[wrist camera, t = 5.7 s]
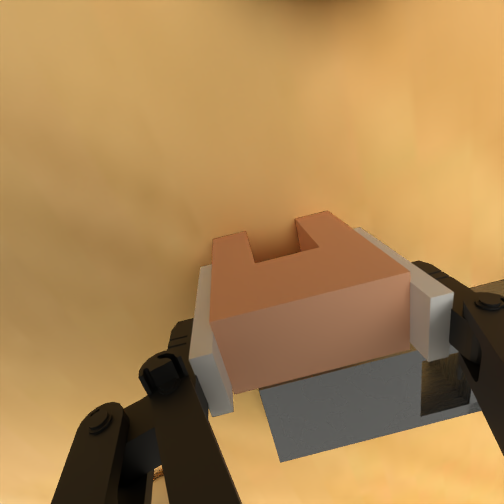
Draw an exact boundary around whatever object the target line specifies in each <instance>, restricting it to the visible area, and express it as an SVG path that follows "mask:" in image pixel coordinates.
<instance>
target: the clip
mask: <svg viewBox="0 0 504 504" xmlns="http://www.w3.org/2000/svg"><path fill="white" fill-rule="evenodd" d="M295 221H296V227H297V233H298V239H299V245H300V251H301V252H299V253H295V254H291V255H287V256H283V257H279V258H275V259H271V260H267V261H263V262H259V263H255V262H254V259H253V255H252V251H251V248H250V244H249V240H248V237H247V233H246V231H244V232H240V233H236V234H232V235H228V236H224V237H220V238H216V239H213V249H212V271H211V293H210V315H209V323H210V326H211V329H212V332H213V334H214V336H215V339H216V342H217V345H218V348H219V351H220V354H221V357H222V359H223V362H224V365H225V368H226V371H227V374H228V377H229V379H230V382H231V385H232V389H233V392H234V394H238V393H242V392H246V391H250V390H253V389H257V388H261V387H265V386H269V385H273V384H277V383H281V382H285V381H289V380H293V379H297V378H300V377H304V376H308V375H312V374H316V373H320V372H324V371H328V370H332V369H336V368H340V367H344V366H347V365H351V364H355V363H359V362H363V361H367V360H371V359H375V358H379V357H383V356H387V355H391V354H395V353H398V352H402V351H406V350H410V281H411V272H410V271H409V270H408V269H406V268H405V267H404V266H402V265H401V264H400V263H398V262H397V261H395V260H394V259H393V258H391V257H390V256H389V255H387V254H386V253H385V252H383V251H382V250H381V249H379V248H378V247H376V246H375V245H374V244H372V243H371V242H370V241H368V240H367V239H366V238H364V237H363V236H362V235H360V234H359V233H358V232H356V231H355V230H353V229H352V228H351V227H349V226H348V225H347V224H345V223H344V222H343V221H341V220H340V219H339V218H337V217H336V216H334V215H333V214H332V213H330V212H329V211H324V212H320V213H316V214H312V215H308V216H304V217H300V218H296V219H295Z"/></svg>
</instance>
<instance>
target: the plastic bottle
mask: <svg viewBox="0 0 504 504" xmlns="http://www.w3.org/2000/svg"><path fill="white" fill-rule="evenodd" d="M151 504H169V500H168V494H167V489H166V484H165V479H164V475H163V476H161V477H159V478H157V479H155V480H154V481H153V489H152V501H151Z"/></svg>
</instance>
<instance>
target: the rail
mask: <svg viewBox="0 0 504 504" xmlns="http://www.w3.org/2000/svg"><path fill="white" fill-rule="evenodd" d="M470 289H471V290H473V291H474V292H490V293H494V294H499V295H502V296H504V280H501V281H497V282H493V283H489V284H485V285H481V286H477V287H473V288H470ZM458 352H459V351H458V350H456V349H455V348H454V347H453V346H452V345H451V344H450V347H449V357H446V358H442V359H438V360H434V361H430V362H428V361H426V359H425V358H424V357H423V356H422V355H421V354H420V353H419V351H418V350H417V349H416V348H415V347H414V346H413V345H412V344H411V343H410V350H406V351H402V352H398V353H395V354H391V355H387V356H383V357H379V358H375V359H371V360H367V361H363V362H359V363H355V364H351V365H347V366H344V367H340V368H336V369H332V370H328V371H324V372H320V373H316V374H312V375H308V376H304V377H300V378H297V379H293V380H289V381H285V382H281V383H277V384H273V385H269V386H265V387H261V388H259V392H260V396H261V399H262V402H263V406H264V409H265V412H266V416H267V419H268V422H269V426H270V429H271V433H272V436H273V439H274V443H275V446H276V449H277V453H278V456H279V459H280V463H281V462H285V461H288V460H292V459H296V458H300V457H304V456H308V455H312V454H315V453H319V452H323V451H327V450H331V449H335V448H339V447H343V446H346V445H350V444H354V443H358V442H362V441H366V440H370V439H373V438H377V437H381V436H385V435H389V434H393V433H397V432H401V431H404V430H408V429H412V428H416V427H420V426H424V425H428V424H431V423H435V422H439V421H443V420H447V419H451V418H455V417H459V416H462V415H466V414H470V413H474V412H478V411H482V410H481V408H480V406H479V404H478V402H477V400H476V398H475V396H474V393H473V391H472V389H471V387H470V385H469V383H468V381H467V380H466V377H465V375H464V373H463V372H462V376H461V380H459V379H457V375H456V373H457V363H458ZM422 361H424V362H422Z"/></svg>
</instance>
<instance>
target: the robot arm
mask: <svg viewBox="0 0 504 504" xmlns="http://www.w3.org/2000/svg"><path fill="white" fill-rule="evenodd" d="M353 230H355V231H356V232H358V233H359V234H360V235H362V236H363V237H364V238H366V239H367V240H368V241H370V242H371V243H372V244H374V245H375V246H376V247H378V248H379V249H381V250H382V251H383V252H385V253H386V254H387V255H389V256H390V257H391V258H393V259H394V260H395V261H397V262H398V263H400V264H401V265H402V266H404V267H405V268H406V269H408V270H409V271H410V272H411V281H410V343H411V344H412V345H413V346H414V347H415V348H416V349H417V350H418V351H419V353H420V354H421V355H422V356H423V357H424V358H425V359H426V360H427V361H428V362H430V361H434V360H438V359H442V358H446V357H449V347H450V344H451V345H452V346H453V347H454V348H455V349H456V350H458V351H459V352H458V363H457V373H456V375H457V379H459V380H461V376H462V372H463V373H464V375H465V377H466V380H467V381H468V383H469V385H470V387H471V389H472V391H473V393H474V396H475V398H476V400H477V402H478V404H479V406H480V408H481V410H482V412H483V414H484V416H485V418H486V420H487V422H488V424H489V427H490V429H491V431H492V433H493V435H494V437H495V439H496V441H497V443H498V445H499V447H500V449H501V451H502V453H503V456H504V296H502V295H499V294H494V293H490V292H474V291H473V290H471V289H470V288H468V287H466V286H465V285H463V284H462V283H460V282H458V281H457V280H455V279H454V278H452V277H449V275H447V274H446V273H444V272H441V270H440V269H438V268H436V267H435V266H433V265H432V264H428V263H425V262H422V261H415V262H409V261H408V260H407V259H405V258H404V257H402V256H401V255H399V254H398V253H396V252H395V251H394V250H392V249H391V248H389V247H388V246H386V245H385V244H383V243H382V242H380V241H379V240H378V239H376V238H375V237H373V236H372V235H370V234H369V233H367V232H366V231H365V230H363V229H362V228H360V227H359V228H355V229H353ZM211 271H212V264H210V265H206V266H202V267H200V273H199V281H198V289H197V297H196V305H195V312H194V318H192V319H188V320H184V321H180V322H178V323H177V324H176V326H175V327H174V328H173V330H172V331H171V336H170V341H169V344H168V349H167V351H163V352H160V353H157V354H155V355H154V356H152V357H151V358H149V359H148V360H147V361H146V362H145V363H144V364H143V365H142V367H141V369H140V371H139V379H140V381H141V383H142V385H143V387H144V389H145V391H146V393H147V394H148V395H147V396H146V397H144V398H143V399H141V400H139V401H137V402H136V403H134V404H132V405H130V406H128V407H126V408H124V409H123V407H122V406H121V405H120V404H119V403H116V402H110V403H105V404H103V405H101V406H99V407H97V408H96V409H94V410H93V411H92V412H90V413H89V414H88V415H87V416H86V417H85V419H84V420H83V421H82V422H81V424H80V426H79V428H78V429H77V432H76V435H75V438H74V440H73V443H72V446H71V449H70V452H69V454H68V457H67V460H66V463H65V466H64V468H63V471H62V474H61V477H60V480H59V482H58V485H57V488H56V491H55V494H54V496H53V499H52V502H51V504H151V501H152V489H153V477H154V469H155V468H157V467H158V466H160V465H162V469H163V474H164V479H165V484H166V489H167V494H168V500H169V504H242V502H241V500H240V497H239V495H238V492H237V490H236V487H235V485H234V482H233V480H232V478H231V475H230V473H229V470H228V468H227V465H226V463H225V460H224V458H223V455H222V453H221V450H220V448H219V445H218V443H217V440H216V438H215V435H214V433H213V430H212V428H211V426H210V423H209V421H208V408H209V410H210V412H211V415H212V417H215V416H219V415H223V414H227V413H231V412H234V411H233V393H232V385H231V382H230V379H229V377H228V374H227V371H226V368H225V365H224V362H223V359H222V357H221V354H220V351H219V348H218V345H217V342H216V339H215V336H214V334H213V332H212V329H211V326H210V323H209V315H210V293H211Z"/></svg>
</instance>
